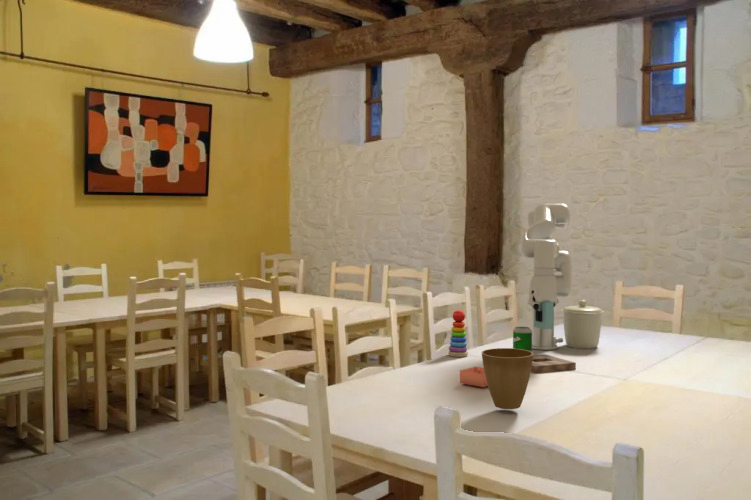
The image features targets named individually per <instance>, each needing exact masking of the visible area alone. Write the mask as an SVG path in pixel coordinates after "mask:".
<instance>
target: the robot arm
mask: <svg viewBox="0 0 751 500" xmlns="http://www.w3.org/2000/svg"><path fill="white" fill-rule="evenodd" d="M570 221H571V210H570V208H569V206H568V205H567V204H565V203H541V204H538V205H537V206H536V207H535V208H534V209H533V210H531V211H529V212H528V213H527V223H528V228H527V229H526V230H525V231H524V233H523V234H522V238H521V254H522V256H523V257H524V258H526V259H533V275H532V276H531V278H530V281H529V291H528V298H529V299H528V302H527V304H528V305H529V306H531V328H530V329H531V330H532V350H542V351H552V350H553V351H554V350H557V349H558V348H559V347H558V343H559V344H560V343H563V342H564V339H563V338H562V337H558V338H557V336H556V337H555V307H556V306H557V305H558V304H560V300H559V299H558V298H569V297H570V296H571V294H572V290H573V283H572V282H573V274H572V273H573V270H572V268H573V267H572V266H573V265H572V263H573V262H572V257H571V254H570V252H568V251H566V250H560V244H559V242H558V241H557V240H556V239H554V238H553V234H554V233H555V231H556V230H565V229H567V228H568V227H569V225H570ZM556 273H559V274H560V275H559V274H556ZM534 302H535V303H534ZM543 302H554V303H553V329H542V328H537V327H534V310H535V311H536V312H535V318H536V321H539V322H542V311H541V306H542V303H543Z"/></svg>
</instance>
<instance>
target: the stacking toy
mask: <svg viewBox="0 0 751 500" xmlns="http://www.w3.org/2000/svg"><path fill="white" fill-rule="evenodd" d="M465 318H466V313H465V312H464V311H463V310H461V309H457V310H455V311H454V312H453V313H452V319H453V320H454V321H453V322H452V327H451V332H450V334H451V336H450V337H449V338H450V342H449V347H448V356H450V357H453V358H464V357H465V358H466V357H467V356H468V354H469V353H468V347H467V346H468V343H467V337H466V336H467V333H466V327H465V326H466V323H465V322H464V321H465Z"/></svg>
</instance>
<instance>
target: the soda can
mask: <svg viewBox="0 0 751 500" xmlns="http://www.w3.org/2000/svg"><path fill="white" fill-rule="evenodd" d="M531 329H532V328H531V327H528V326H515V327H514V328H513V330H512V332H513V333H512V348H514V349H523V350H528V351H531V352H532V350H533V349H532V330H531Z"/></svg>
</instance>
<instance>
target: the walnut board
mask: <svg viewBox="0 0 751 500" xmlns="http://www.w3.org/2000/svg"><path fill="white" fill-rule="evenodd" d="M576 366H577V363H576V362H575V361H572V360H567V359H563V358H559V357H556V356H552V355H549V354H547V353H546V354H533V360H532V367H531V372H530V373H534V374H541V373H552V372H563V371H572V370H576V369H577V368H576Z"/></svg>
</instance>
